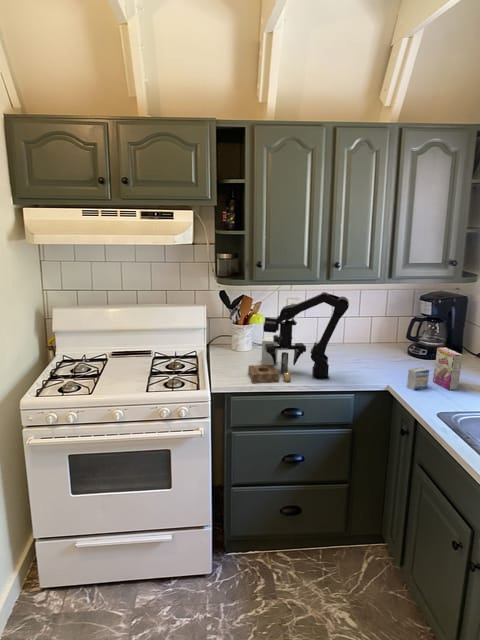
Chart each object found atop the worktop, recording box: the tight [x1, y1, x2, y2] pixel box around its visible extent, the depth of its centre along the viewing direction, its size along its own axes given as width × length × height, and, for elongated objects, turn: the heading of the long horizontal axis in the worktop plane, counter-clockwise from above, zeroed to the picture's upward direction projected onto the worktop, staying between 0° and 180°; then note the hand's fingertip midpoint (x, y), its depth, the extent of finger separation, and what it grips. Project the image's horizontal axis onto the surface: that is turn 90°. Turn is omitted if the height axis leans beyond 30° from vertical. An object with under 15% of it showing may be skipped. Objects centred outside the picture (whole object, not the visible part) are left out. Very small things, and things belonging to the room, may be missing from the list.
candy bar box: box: [432, 346, 464, 391], centre depth 210 cm, size 11×5×16 cm, turn 17°
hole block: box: [247, 364, 280, 384], centre depth 216 cm, size 12×12×4 cm
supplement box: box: [260, 336, 279, 367], centre depth 235 cm, size 7×7×13 cm
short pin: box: [283, 371, 292, 383], centre depth 213 cm, size 3×3×4 cm
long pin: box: [280, 351, 289, 375], centre depth 222 cm, size 3×3×10 cm
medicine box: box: [406, 366, 430, 391], centre depth 208 cm, size 8×4×9 cm, turn 114°
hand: (284, 365), depth 222 cm, fingers open, 9 cm apart
